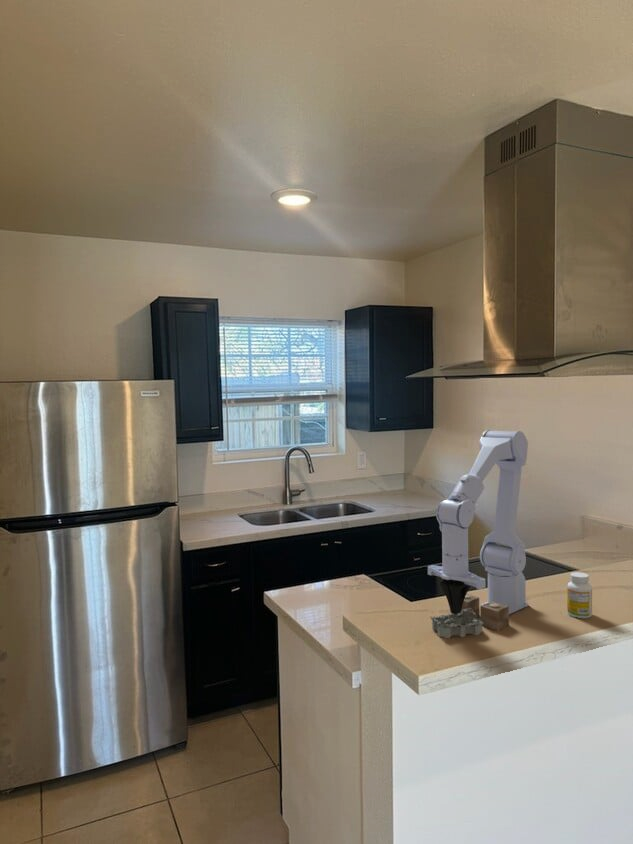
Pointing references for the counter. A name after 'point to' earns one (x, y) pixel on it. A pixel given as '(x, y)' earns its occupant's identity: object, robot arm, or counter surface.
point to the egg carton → (457, 624)
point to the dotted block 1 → (471, 603)
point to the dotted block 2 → (494, 615)
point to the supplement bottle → (579, 596)
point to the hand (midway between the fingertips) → (455, 612)
